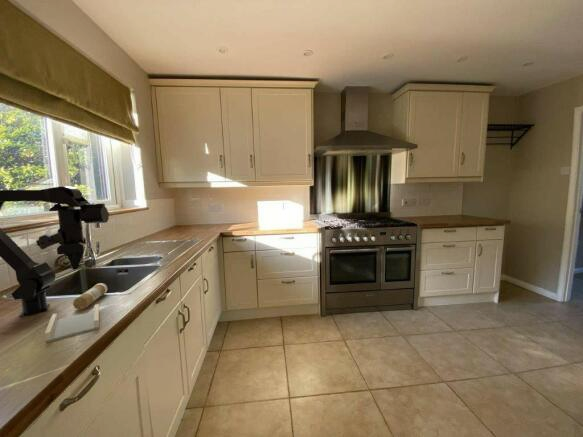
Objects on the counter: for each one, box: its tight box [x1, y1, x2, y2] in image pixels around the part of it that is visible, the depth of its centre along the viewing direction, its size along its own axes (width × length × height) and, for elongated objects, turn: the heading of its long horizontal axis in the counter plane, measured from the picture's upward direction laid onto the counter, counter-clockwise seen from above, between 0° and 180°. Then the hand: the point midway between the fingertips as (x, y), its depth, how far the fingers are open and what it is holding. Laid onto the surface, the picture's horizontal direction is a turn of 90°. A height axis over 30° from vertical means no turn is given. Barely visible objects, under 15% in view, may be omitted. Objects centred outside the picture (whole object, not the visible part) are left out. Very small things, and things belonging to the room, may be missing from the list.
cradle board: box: [44, 303, 100, 344], centre depth 73 cm, size 13×11×3 cm
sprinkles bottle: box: [72, 282, 108, 311], centre depth 89 cm, size 5×5×14 cm
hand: (75, 269), depth 85 cm, fingers closed
